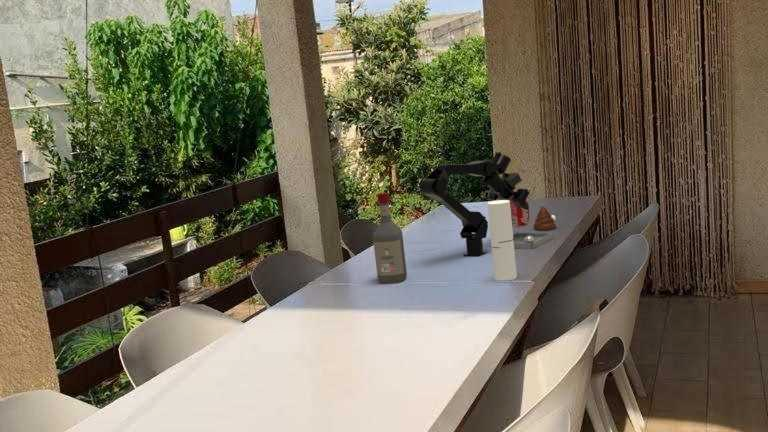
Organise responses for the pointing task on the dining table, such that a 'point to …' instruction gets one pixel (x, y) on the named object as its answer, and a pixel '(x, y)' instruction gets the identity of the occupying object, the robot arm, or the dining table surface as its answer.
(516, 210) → the soda can
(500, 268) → the cylindrical container
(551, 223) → the poop emoji
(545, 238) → the gray tray
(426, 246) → the dining table surface
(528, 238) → the steel mixing ball
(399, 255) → the liquor
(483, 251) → the robot arm
